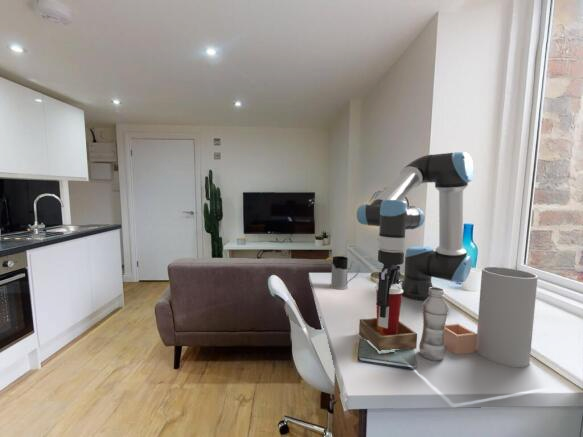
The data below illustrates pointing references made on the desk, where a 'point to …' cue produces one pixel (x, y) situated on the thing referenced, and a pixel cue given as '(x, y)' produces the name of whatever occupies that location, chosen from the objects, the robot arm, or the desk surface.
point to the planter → (459, 339)
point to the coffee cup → (391, 310)
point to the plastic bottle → (433, 325)
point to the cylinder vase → (506, 315)
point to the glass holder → (340, 273)
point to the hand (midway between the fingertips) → (387, 322)
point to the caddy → (381, 342)
